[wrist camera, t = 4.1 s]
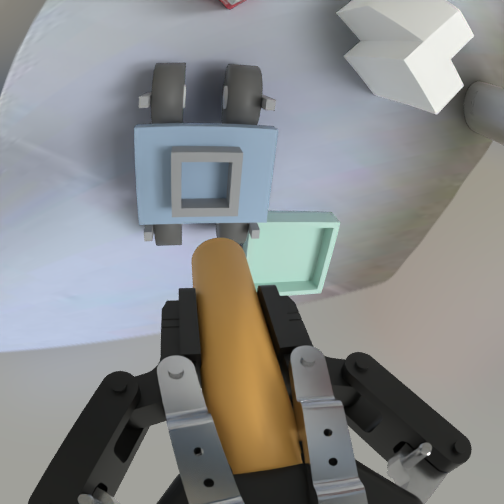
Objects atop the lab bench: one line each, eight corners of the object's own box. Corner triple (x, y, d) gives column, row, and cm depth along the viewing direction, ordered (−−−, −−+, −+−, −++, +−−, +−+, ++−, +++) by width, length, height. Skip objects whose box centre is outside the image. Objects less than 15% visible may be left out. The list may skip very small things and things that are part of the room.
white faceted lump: (374, 95, 34) (436, 114, 24) (317, 28, 28) (372, 18, 18) (420, 51, 30) (486, 61, 21) (371, -15, 25) (434, -29, 15)
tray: (331, 212, 42) (340, 222, 40) (314, 280, 49) (321, 293, 46) (245, 211, 40) (250, 222, 37) (239, 284, 46) (242, 298, 44)
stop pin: (247, 237, 16) (322, 455, 7) (243, 281, 17) (299, 480, 8) (191, 238, 15) (214, 472, 6) (192, 283, 17) (215, 493, 8)
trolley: (260, 67, 30) (293, 68, 20) (244, 224, 41) (264, 280, 31) (149, 64, 27) (131, 62, 18) (151, 226, 38) (142, 285, 29)
